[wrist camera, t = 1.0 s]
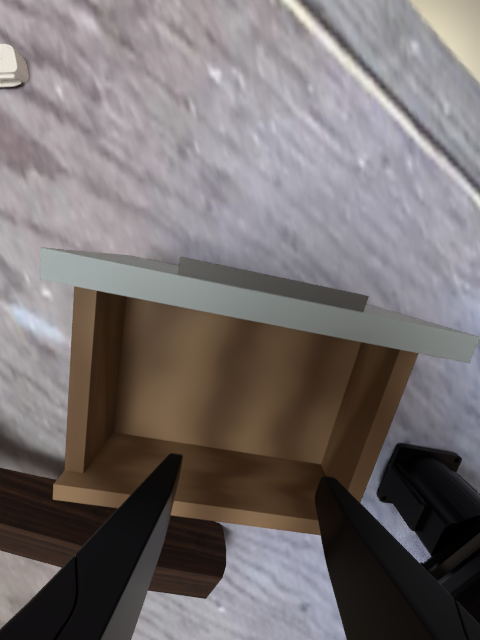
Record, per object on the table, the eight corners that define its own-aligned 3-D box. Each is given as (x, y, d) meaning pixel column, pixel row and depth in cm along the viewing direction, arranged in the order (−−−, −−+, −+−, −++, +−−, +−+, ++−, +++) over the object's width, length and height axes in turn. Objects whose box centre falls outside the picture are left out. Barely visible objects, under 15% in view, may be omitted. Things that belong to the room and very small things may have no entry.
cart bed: (367, 322, 20) (434, 352, 13) (322, 459, 23) (358, 540, 16) (123, 274, 19) (62, 279, 12) (109, 426, 22) (52, 499, 15)
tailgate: (376, 296, 18) (487, 321, 10) (368, 321, 18) (469, 363, 10) (131, 245, 17) (41, 227, 9) (129, 272, 17) (39, 279, 9)
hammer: (226, 485, 28) (-78, 384, 20) (238, 629, 18) (-392, 538, 10) (205, 513, 29) (-94, 427, 21) (206, 667, 18) (-397, 611, 10)
